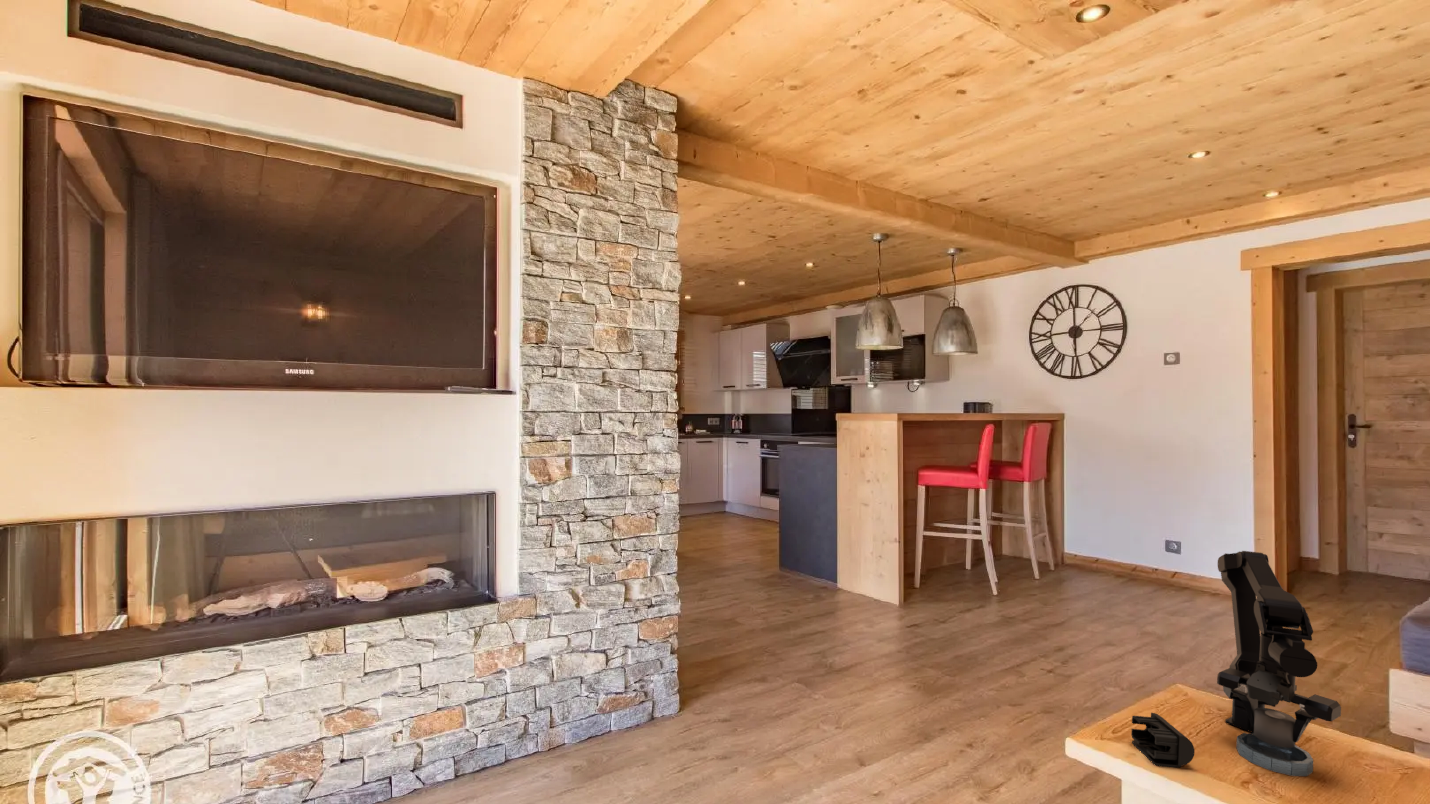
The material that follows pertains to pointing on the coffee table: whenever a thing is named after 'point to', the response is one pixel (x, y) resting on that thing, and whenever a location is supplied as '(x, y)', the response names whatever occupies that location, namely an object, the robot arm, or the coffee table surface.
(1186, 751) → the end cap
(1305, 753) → the blue-grey round tray
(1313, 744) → the coffee table surface
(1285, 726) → the dark brown cylinder
